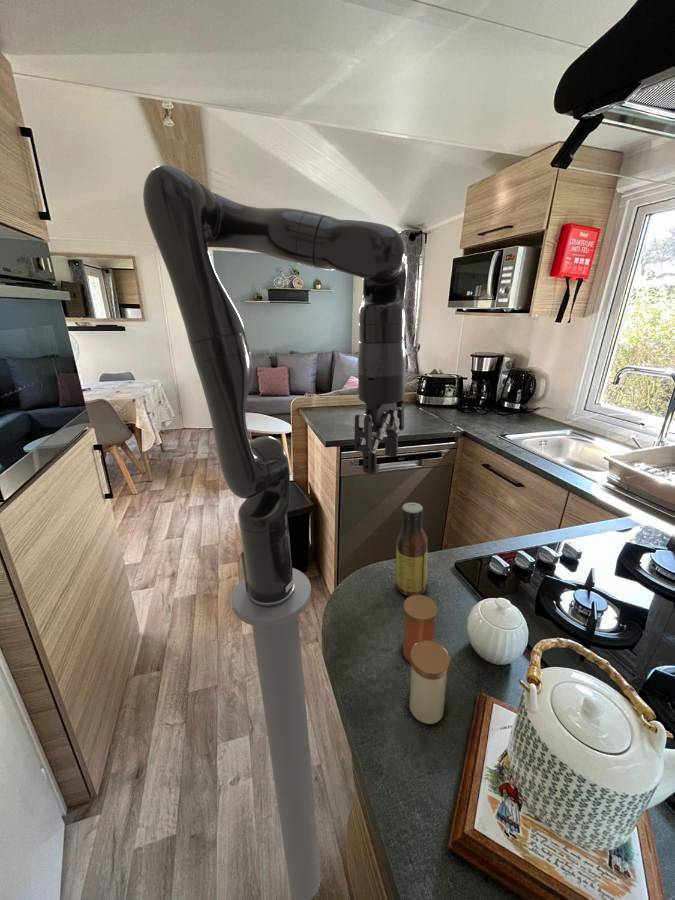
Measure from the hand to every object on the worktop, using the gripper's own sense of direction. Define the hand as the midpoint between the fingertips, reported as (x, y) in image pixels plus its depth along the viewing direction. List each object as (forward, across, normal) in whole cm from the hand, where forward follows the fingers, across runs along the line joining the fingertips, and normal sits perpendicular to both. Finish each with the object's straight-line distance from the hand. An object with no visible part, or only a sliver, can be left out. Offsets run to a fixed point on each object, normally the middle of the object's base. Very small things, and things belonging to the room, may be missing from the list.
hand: (381, 463), depth 66 cm
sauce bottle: (+31, -7, +4) cm, 32 cm away
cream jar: (+31, +16, +15) cm, 38 cm away
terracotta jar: (+31, +8, +11) cm, 33 cm away
